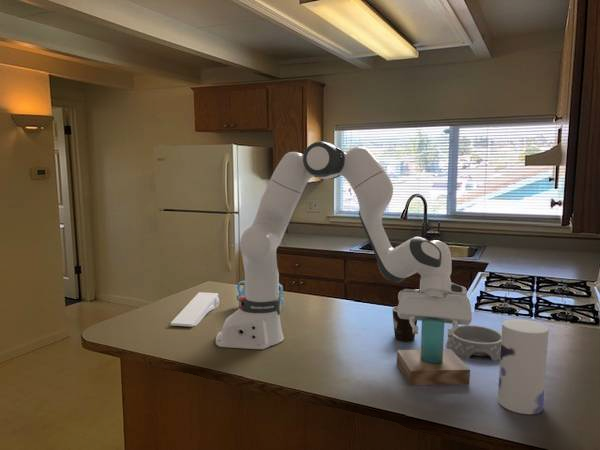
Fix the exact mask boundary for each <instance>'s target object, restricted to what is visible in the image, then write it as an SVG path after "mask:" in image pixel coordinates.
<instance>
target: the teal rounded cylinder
mask: <svg viewBox="0 0 600 450" xmlns="http://www.w3.org/2000/svg"><path fill="white" fill-rule="evenodd" d="M420 332H421V334H420V350H421V356H420V359H421V360H422V361H423V362H426V363H430V364H439V363H442V362H443V349H444V340H445V339H444V338H445V336H444V335H445V323H444V321H443V320H441V319H437V318H424V319H422V321H421V331H420Z"/></svg>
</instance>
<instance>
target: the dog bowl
mask: <svg viewBox="0 0 600 450" xmlns="http://www.w3.org/2000/svg"><path fill="white" fill-rule="evenodd" d="M501 337H502V332H500V331H498V330H495V329H493V328H491V327H487V326H482V325H473V324H472V325H471V324H469V325H458V328H457V329H456V330H455V332H454V336H453V338H450V337H448V336H447V340H446V344H445V347H446V348H445V349H451V350H452V351H453V352H454V353H455V354H456V355H457V356H458V357H462V358H466V359H470V357H471V356H472V355H473V356H477V357H478V356H479V357H490V359H491V361H498V360H500V354H501Z"/></svg>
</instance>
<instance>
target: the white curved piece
mask: <svg viewBox="0 0 600 450" xmlns="http://www.w3.org/2000/svg"><path fill="white" fill-rule="evenodd" d="M219 304H220V298H219V293H217V292H202V291H199V292H198V293H197V294H196V295H195V296H194V297H193V298H192V299H191V300H190V302H189V303H187V305H186V306H185V307H184V308H183V309H182V310H181V311H179V313H178V314H177V315H176V316H175V318H174V319H173V320H171V322H170V326H176V327H177V326H178V327H189V328H190V327H191V328H192V327H196V325H197V326H198V324H199V323H200V322H201V321H202V320H203V318H204V317H205V316H206V315H207V314H208V313H210V311H212V310H215V309H216V308H218V307H219Z"/></svg>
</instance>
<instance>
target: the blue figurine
mask: <svg viewBox="0 0 600 450" xmlns="http://www.w3.org/2000/svg"><path fill="white" fill-rule="evenodd" d="M241 284H244V285H243V287H242V289H241ZM283 287H284V286H283V285H282V284H281V283H279V297H280V301H281V305H284V303H285V300H284V298H283V297H282V295H283V291H284V288H283ZM236 289H237V293H238V294H237V296H236V301H237V302H239V297H240V296H244V297H245V280H241V281H239V282H238V283H237V284H236Z"/></svg>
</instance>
